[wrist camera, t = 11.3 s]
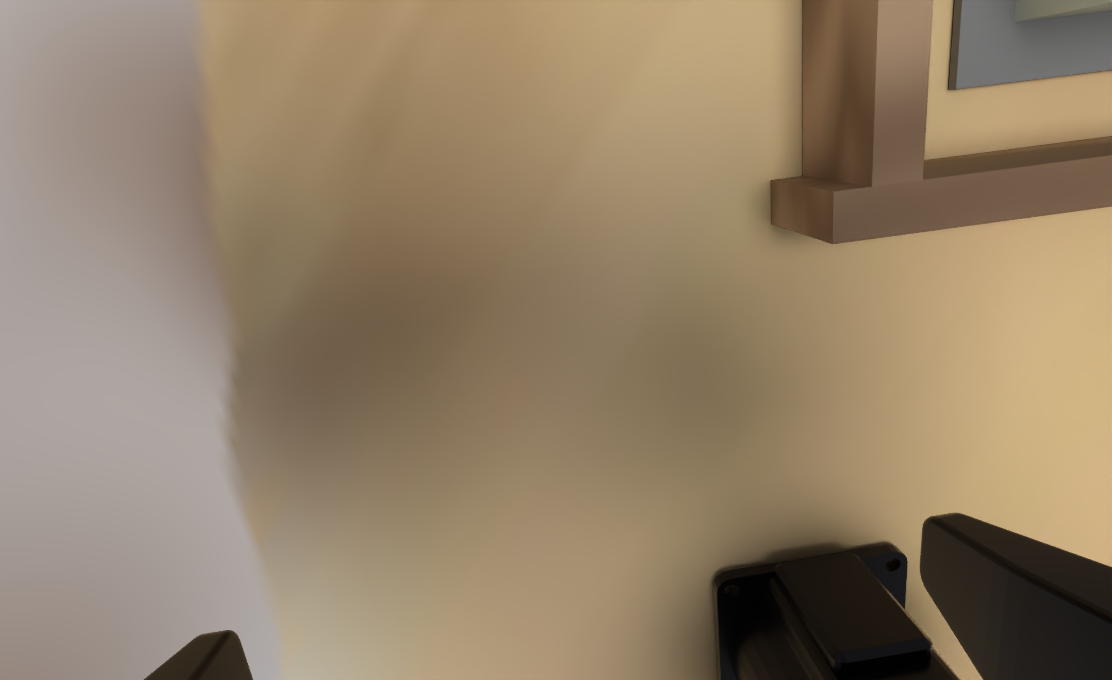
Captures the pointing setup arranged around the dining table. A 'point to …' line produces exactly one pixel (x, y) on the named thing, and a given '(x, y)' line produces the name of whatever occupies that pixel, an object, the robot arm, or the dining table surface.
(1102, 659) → the robot arm
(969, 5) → the tile
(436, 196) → the dining table surface
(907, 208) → the block
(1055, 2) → the sage cube
